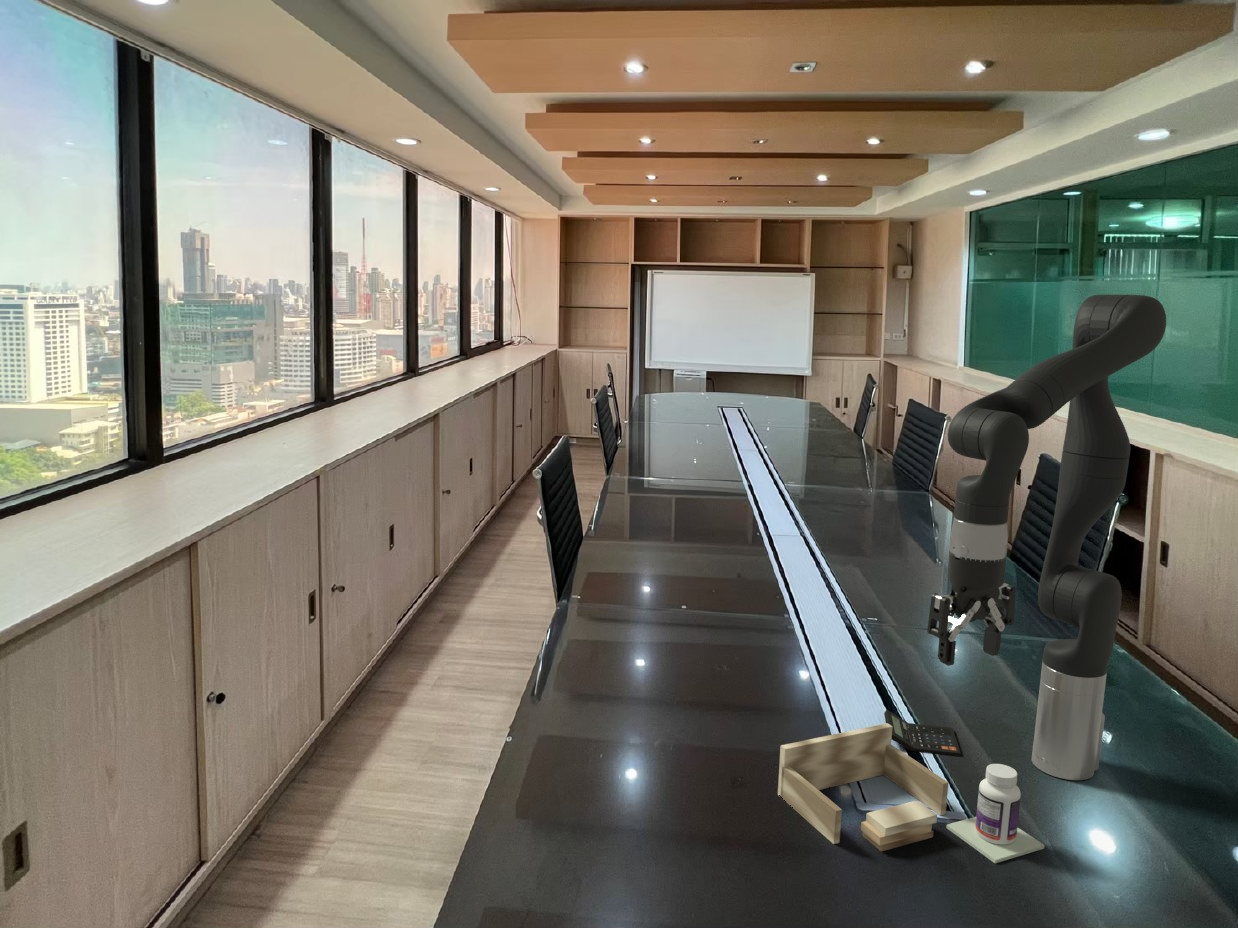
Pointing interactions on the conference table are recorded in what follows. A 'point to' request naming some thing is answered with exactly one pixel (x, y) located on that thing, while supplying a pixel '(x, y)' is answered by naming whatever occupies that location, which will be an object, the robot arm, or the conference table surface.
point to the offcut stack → (898, 825)
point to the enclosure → (850, 773)
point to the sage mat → (991, 850)
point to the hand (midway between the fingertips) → (968, 658)
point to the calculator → (923, 736)
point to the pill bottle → (998, 805)
